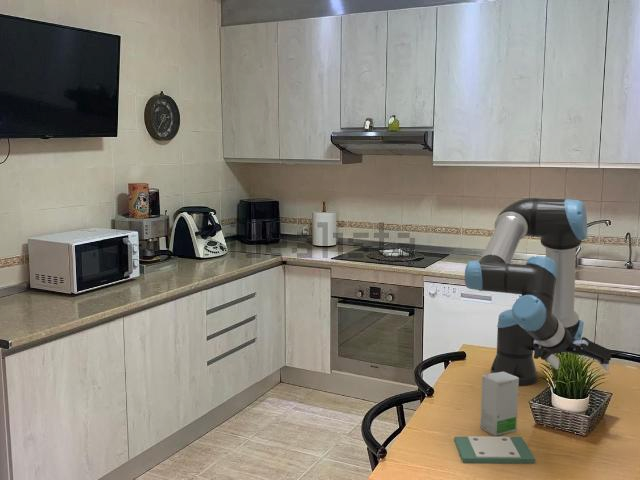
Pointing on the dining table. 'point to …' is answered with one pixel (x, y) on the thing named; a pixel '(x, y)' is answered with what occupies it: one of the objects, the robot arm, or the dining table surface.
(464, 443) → the board
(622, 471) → the dining table surface
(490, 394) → the skincare box
